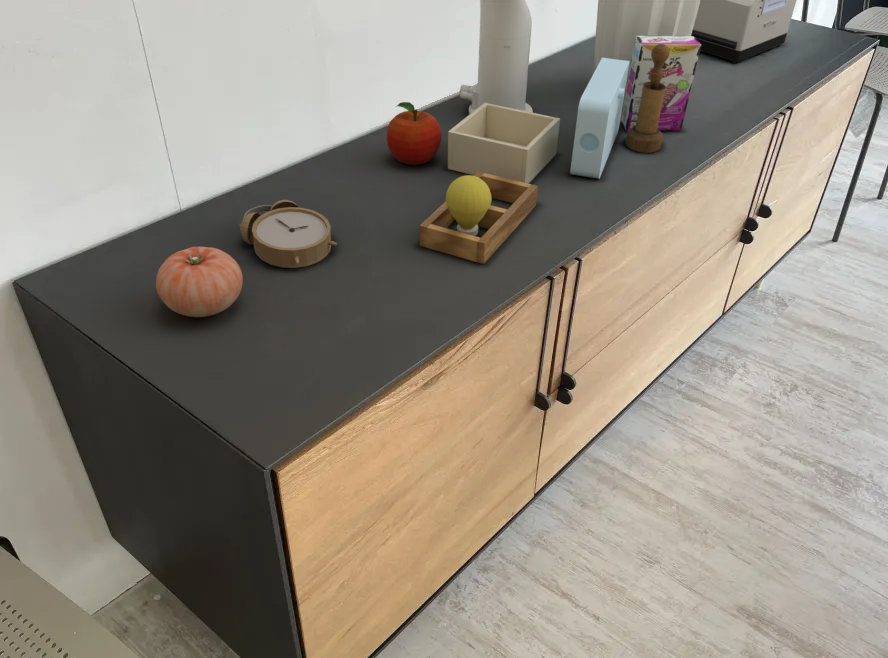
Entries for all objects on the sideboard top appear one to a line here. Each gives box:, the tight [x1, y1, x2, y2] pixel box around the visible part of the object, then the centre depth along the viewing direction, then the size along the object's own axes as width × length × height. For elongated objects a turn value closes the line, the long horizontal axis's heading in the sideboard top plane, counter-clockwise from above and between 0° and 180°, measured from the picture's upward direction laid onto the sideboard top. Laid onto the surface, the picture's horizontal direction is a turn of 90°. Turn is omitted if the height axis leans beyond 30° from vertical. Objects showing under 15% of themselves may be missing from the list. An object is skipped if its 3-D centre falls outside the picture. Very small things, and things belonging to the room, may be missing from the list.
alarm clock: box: [238, 199, 338, 269], centre depth 115 cm, size 11×5×15 cm
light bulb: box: [445, 174, 492, 237], centre depth 115 cm, size 7×7×10 cm
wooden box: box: [447, 103, 561, 184], centre depth 136 cm, size 15×15×7 cm
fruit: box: [386, 101, 442, 166], centre depth 135 cm, size 10×10×10 cm
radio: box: [569, 58, 630, 180], centre depth 138 cm, size 23×6×13 cm, turn 162°
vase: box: [593, 0, 700, 104], centre depth 154 cm, size 20×20×28 cm
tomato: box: [155, 246, 244, 318], centre depth 101 cm, size 11×11×8 cm
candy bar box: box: [620, 36, 701, 132], centre depth 146 cm, size 11×5×16 cm, turn 94°
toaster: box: [691, 0, 797, 64], centre depth 185 cm, size 23×25×17 cm
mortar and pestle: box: [625, 44, 669, 154], centre depth 139 cm, size 7×6×18 cm
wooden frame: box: [419, 171, 539, 265], centre depth 120 cm, size 11×20×4 cm, turn 153°
